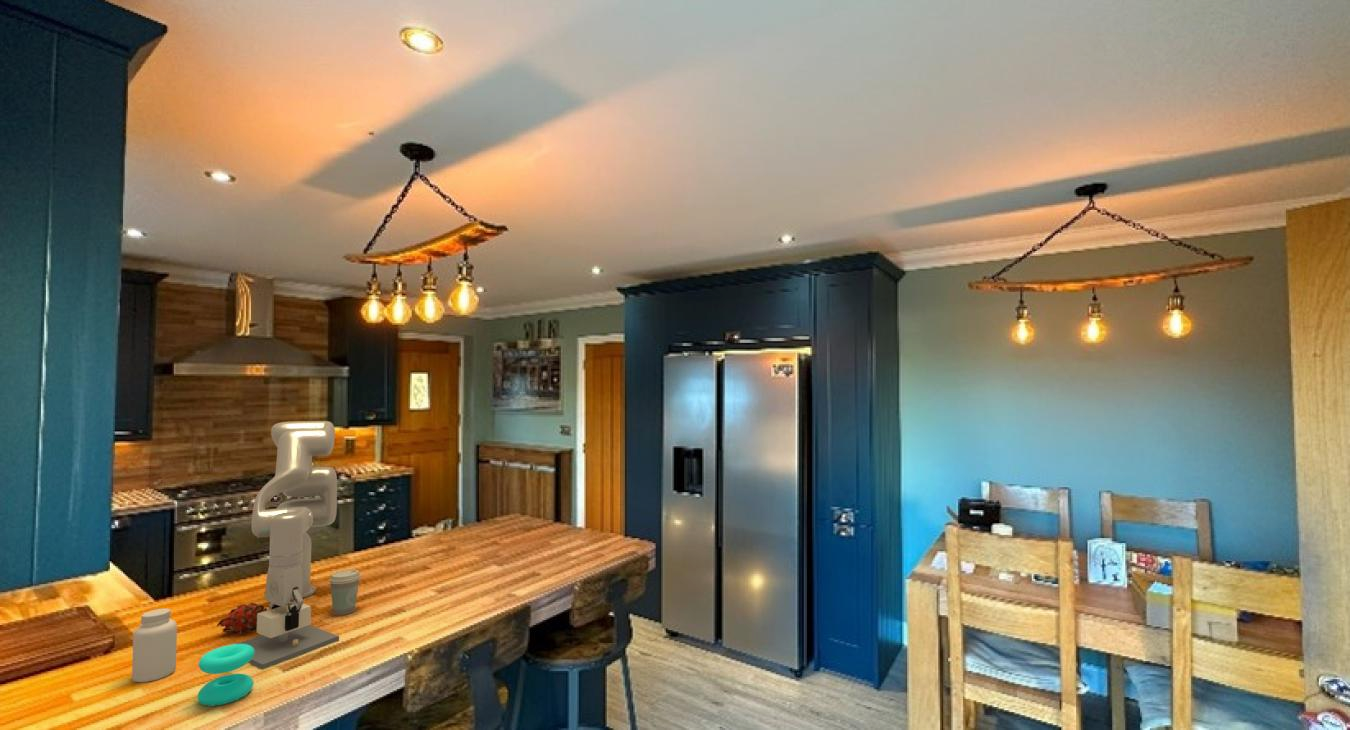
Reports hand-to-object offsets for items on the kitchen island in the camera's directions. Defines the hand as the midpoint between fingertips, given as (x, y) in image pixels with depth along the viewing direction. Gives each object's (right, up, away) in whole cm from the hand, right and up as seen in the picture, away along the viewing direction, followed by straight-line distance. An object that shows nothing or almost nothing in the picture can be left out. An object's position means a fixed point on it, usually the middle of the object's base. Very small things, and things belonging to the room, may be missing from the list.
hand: (283, 625), depth 156 cm
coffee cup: (+3, -7, +23) cm, 24 cm away
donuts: (+4, -5, -25) cm, 26 cm away
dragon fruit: (-17, -6, +8) cm, 20 cm away
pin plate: (0, -5, 0) cm, 5 cm away
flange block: (0, -1, 0) cm, 1 cm away
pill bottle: (-21, -5, -16) cm, 27 cm away
